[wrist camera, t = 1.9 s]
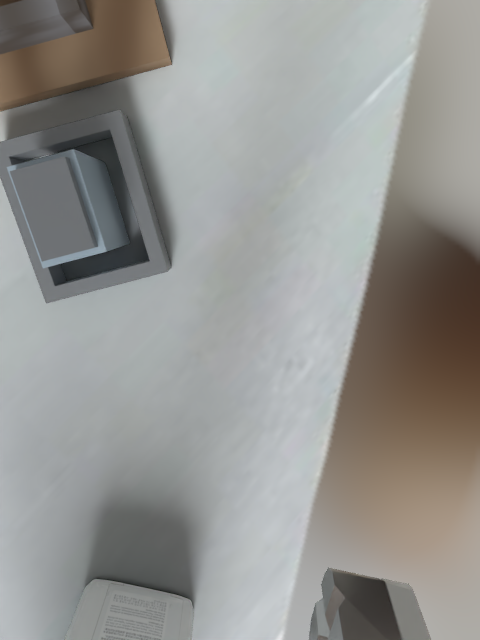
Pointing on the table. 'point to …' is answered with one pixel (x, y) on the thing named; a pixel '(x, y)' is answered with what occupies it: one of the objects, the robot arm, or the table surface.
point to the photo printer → (130, 614)
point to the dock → (75, 45)
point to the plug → (68, 206)
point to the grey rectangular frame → (120, 131)
